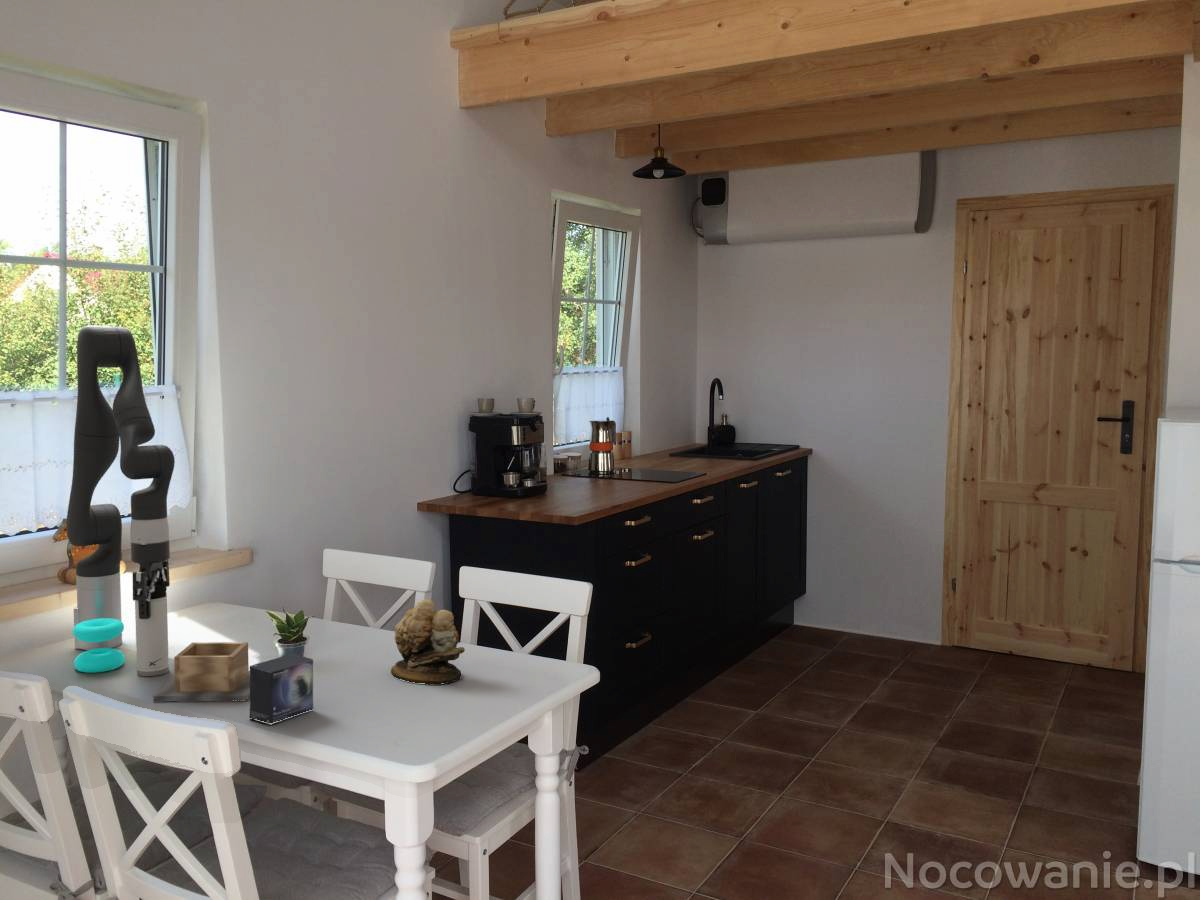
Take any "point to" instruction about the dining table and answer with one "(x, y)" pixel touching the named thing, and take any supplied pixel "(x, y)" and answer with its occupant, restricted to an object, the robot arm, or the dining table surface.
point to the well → (209, 673)
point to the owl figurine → (427, 645)
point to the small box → (281, 688)
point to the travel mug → (153, 635)
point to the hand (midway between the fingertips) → (152, 613)
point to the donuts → (101, 656)
